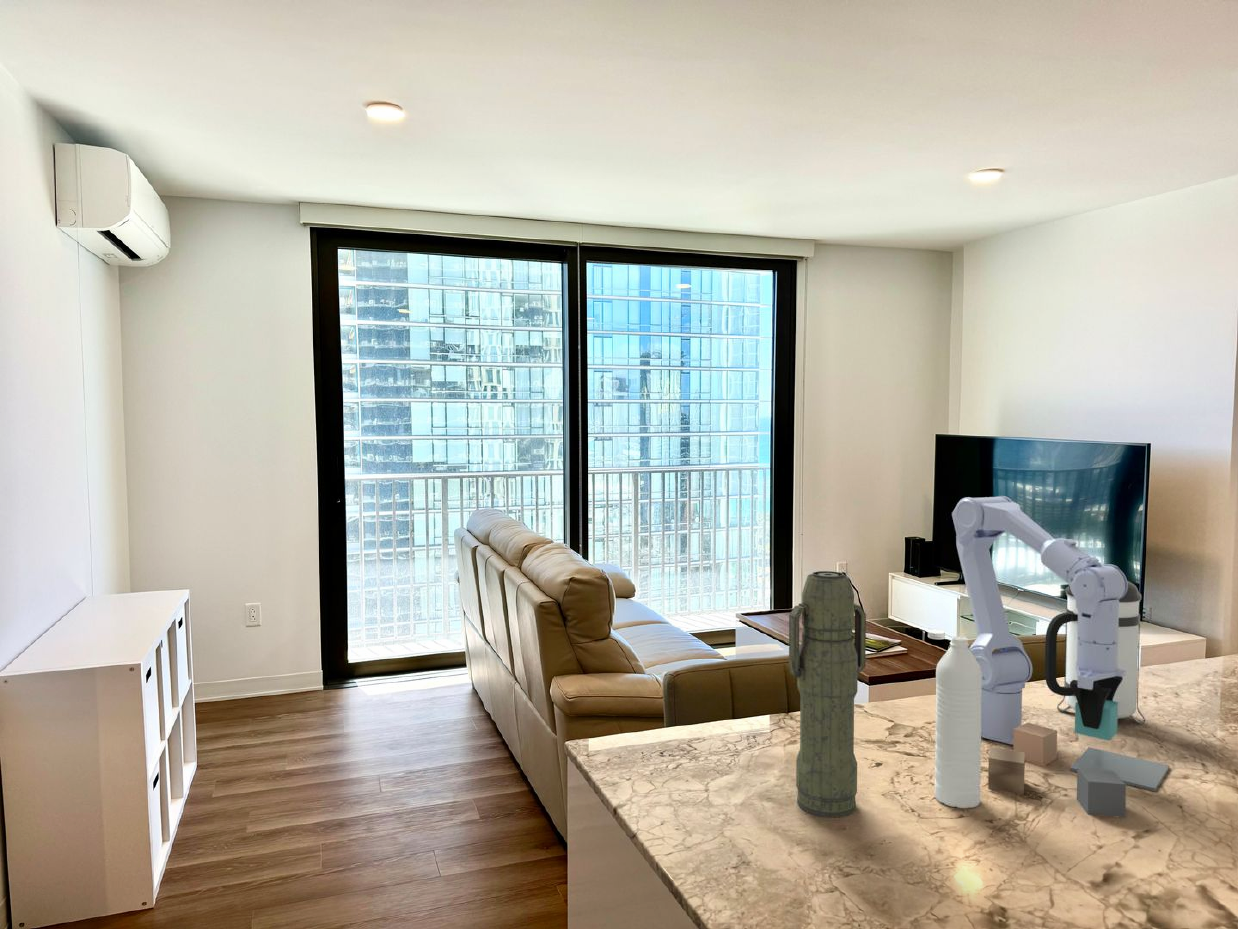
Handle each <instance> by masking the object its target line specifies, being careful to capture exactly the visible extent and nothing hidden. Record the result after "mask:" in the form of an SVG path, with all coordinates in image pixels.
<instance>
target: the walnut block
mask: <svg viewBox="0 0 1238 929" xmlns="http://www.w3.org/2000/svg"><path fill="white" fill-rule="evenodd" d="M1025 762H1026V761H1025V752H1019V751H1013V750H1012V749H1006V748H1000V747H999V748H998V747H992V746H990V749H989V753H988V770H987V772H988V774H987V775H988V779H987V782H988V783H987V786H988V788H987V789H989V790H995V791H1000V792H1003V793H1004V792H1006V793H1010V794H1015V795H1016V794H1017V795H1022V796H1024V792H1025V771H1026V770H1025V766H1026V764H1025Z"/></svg>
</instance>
